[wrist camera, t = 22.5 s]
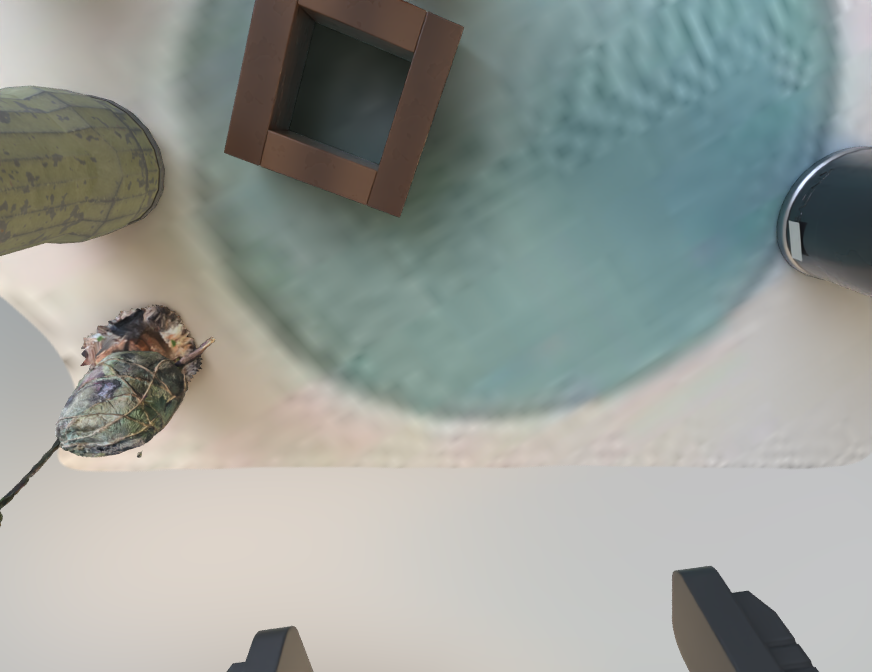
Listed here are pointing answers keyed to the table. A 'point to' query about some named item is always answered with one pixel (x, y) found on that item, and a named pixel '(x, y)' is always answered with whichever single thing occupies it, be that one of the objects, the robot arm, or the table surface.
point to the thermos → (71, 167)
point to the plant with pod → (125, 386)
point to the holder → (280, 79)
